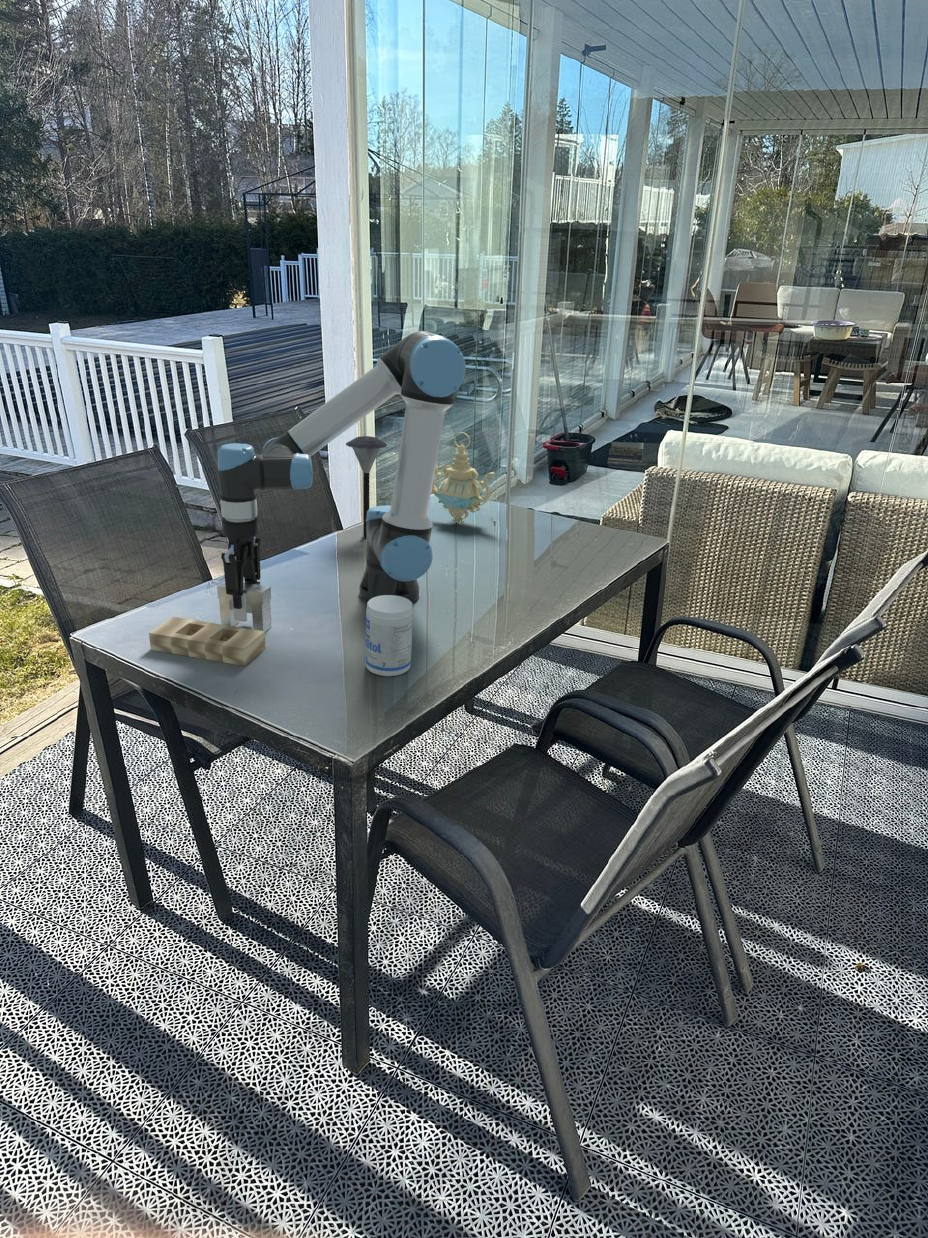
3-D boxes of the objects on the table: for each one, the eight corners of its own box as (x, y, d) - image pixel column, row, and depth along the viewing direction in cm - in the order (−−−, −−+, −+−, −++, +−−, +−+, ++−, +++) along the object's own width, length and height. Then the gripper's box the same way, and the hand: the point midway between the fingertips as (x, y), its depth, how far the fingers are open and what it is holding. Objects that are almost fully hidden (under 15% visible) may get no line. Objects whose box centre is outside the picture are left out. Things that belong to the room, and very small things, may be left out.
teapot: (417, 521, 267) (420, 429, 255) (435, 514, 276) (439, 424, 264) (481, 536, 256) (487, 440, 244) (498, 527, 266) (505, 434, 254)
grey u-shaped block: (272, 627, 187) (270, 586, 183) (264, 633, 184) (262, 592, 180) (229, 620, 190) (226, 579, 186) (220, 626, 186) (217, 585, 182)
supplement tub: (356, 667, 171) (355, 602, 165) (388, 653, 178) (389, 590, 172) (388, 682, 166) (389, 616, 160) (420, 667, 173) (422, 603, 167)
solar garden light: (352, 544, 243) (352, 443, 231) (341, 532, 253) (340, 434, 241) (391, 541, 248) (393, 441, 236) (379, 529, 258) (380, 433, 246)
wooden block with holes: (265, 648, 177) (264, 631, 176) (245, 666, 169) (244, 648, 168) (174, 633, 182) (172, 616, 180) (150, 649, 174) (148, 632, 172)
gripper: (243, 504, 185) (248, 600, 194) (202, 526, 169) (211, 628, 179) (273, 508, 183) (277, 605, 193) (235, 530, 168) (242, 633, 177)
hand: (245, 616), depth 186 cm, fingers closed on grey u-shaped block, 4 cm apart
